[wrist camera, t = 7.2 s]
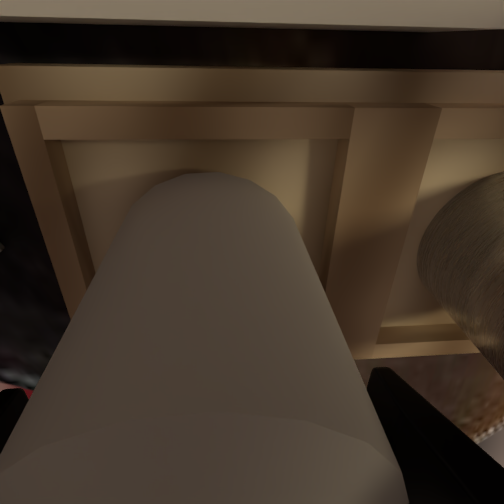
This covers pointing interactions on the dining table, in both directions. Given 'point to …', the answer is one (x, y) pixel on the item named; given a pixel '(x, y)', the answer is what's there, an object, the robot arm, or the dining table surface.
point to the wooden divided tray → (267, 168)
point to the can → (202, 370)
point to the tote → (267, 13)
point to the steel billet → (470, 264)
